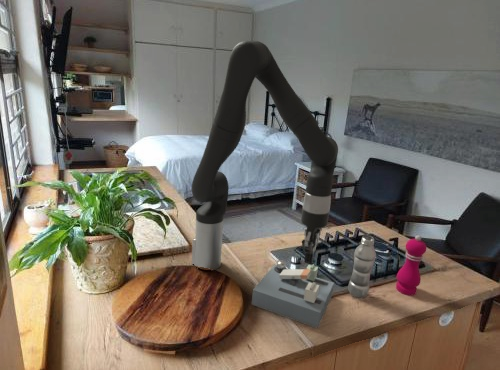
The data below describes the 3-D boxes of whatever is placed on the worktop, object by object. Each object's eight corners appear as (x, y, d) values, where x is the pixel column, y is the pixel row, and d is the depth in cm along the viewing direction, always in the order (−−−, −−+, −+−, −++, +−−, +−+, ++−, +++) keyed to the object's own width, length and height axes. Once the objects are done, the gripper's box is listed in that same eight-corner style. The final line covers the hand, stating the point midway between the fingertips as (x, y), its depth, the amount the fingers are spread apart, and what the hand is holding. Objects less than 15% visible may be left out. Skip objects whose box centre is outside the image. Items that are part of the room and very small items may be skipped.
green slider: (304, 278, 110) (306, 266, 109) (307, 274, 112) (309, 262, 111) (314, 281, 109) (315, 269, 108) (316, 277, 111) (318, 265, 110)
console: (251, 304, 104) (253, 285, 102) (273, 277, 119) (274, 261, 117) (317, 328, 96) (320, 308, 95) (331, 296, 111) (334, 278, 110)
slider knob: (303, 299, 99) (305, 287, 98) (307, 292, 103) (309, 280, 101) (314, 303, 98) (315, 290, 97) (317, 295, 101) (319, 283, 100)
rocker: (279, 279, 108) (278, 275, 108) (284, 272, 112) (283, 268, 112) (307, 279, 104) (306, 275, 104) (311, 272, 108) (311, 268, 108)
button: (274, 268, 114) (275, 262, 113) (278, 265, 116) (278, 259, 116) (283, 271, 113) (284, 265, 112) (286, 267, 115) (287, 261, 115)
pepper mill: (390, 289, 118) (403, 234, 112) (399, 281, 123) (411, 228, 117) (412, 299, 114) (427, 242, 108) (420, 290, 119) (434, 236, 113)
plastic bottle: (345, 297, 111) (356, 240, 105) (347, 286, 117) (358, 231, 112) (367, 303, 109) (379, 244, 103) (368, 292, 115) (379, 236, 110)
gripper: (323, 218, 93) (314, 276, 98) (334, 204, 104) (326, 256, 109) (296, 212, 96) (289, 268, 101) (309, 199, 107) (303, 250, 112)
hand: (308, 262), depth 105 cm, fingers closed
